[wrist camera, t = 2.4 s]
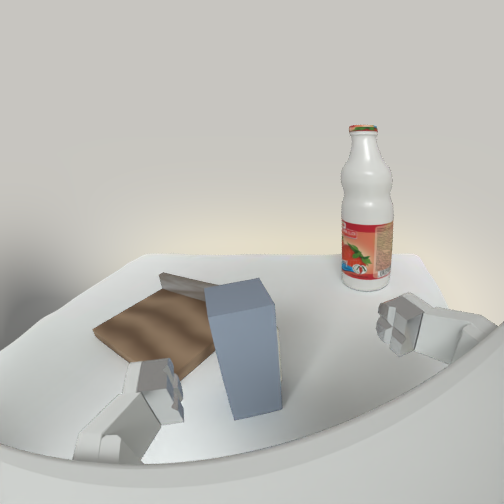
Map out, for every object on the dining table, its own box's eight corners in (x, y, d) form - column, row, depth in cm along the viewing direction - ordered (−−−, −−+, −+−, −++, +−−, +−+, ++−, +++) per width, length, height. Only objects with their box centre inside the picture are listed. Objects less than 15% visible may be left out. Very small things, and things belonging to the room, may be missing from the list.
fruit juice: (396, 290, 43) (398, 124, 34) (346, 294, 44) (341, 122, 35) (380, 268, 52) (379, 128, 43) (337, 272, 53) (331, 128, 44)
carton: (234, 420, 24) (207, 317, 19) (227, 387, 28) (204, 288, 24) (285, 408, 24) (278, 303, 20) (272, 377, 29) (262, 277, 25)
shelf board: (169, 389, 28) (158, 362, 27) (95, 336, 39) (86, 314, 37) (253, 315, 42) (249, 290, 41) (169, 292, 53) (164, 271, 52)
